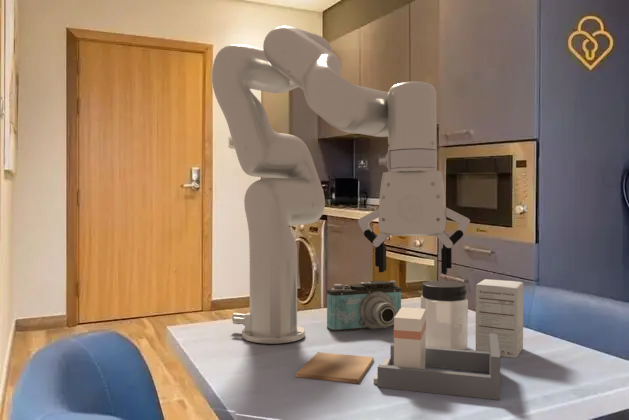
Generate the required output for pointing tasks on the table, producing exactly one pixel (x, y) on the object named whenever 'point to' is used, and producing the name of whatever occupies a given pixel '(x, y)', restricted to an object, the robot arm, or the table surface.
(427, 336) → the jar
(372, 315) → the camera
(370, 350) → the table surface
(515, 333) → the supplement box
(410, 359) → the taped cardboard box
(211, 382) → the table surface
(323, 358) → the cork mat
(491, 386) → the frame
